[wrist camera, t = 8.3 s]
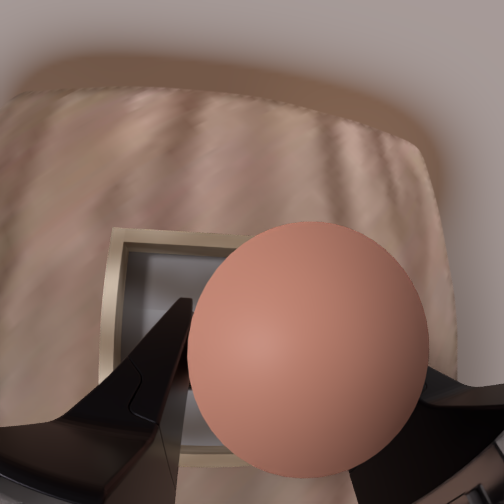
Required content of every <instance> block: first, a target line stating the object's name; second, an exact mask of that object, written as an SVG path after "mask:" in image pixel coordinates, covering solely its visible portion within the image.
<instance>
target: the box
mask: <svg viewBox="0 0 504 504" xmlns="http://www.w3.org/2000/svg"><path fill="white" fill-rule="evenodd" d="M253 237H255V236H245V235H231V234H215V233H200V232H183V231H166V230H149V229H130V228H112V234H111V240H110V246H109V252H108V259H107V266H106V273H105V281H104V290H103V300H102V311H101V325H100V343H99V384H100V383H101V382H102V381H103V380H104V379H105V378H106V377H108V376H109V375H110V374H111V373H112V372H113V370H114V369H115V368H116V367H117V366H118V365H119V364H120V363H121V362H122V361H123V360H124V358H125V357H127V355H128V354H129V353H130V352H131V351H132V350H133V348H134V347H135V346H136V345H137V344H138V343H139V342H140V341H141V339H142V338H143V337H144V336H145V335H146V334H147V333H148V332H149V331H150V329H151V328H152V327H153V326H154V325H155V324H156V323H157V322H158V321H159V319H160V318H161V317H162V316H163V315H164V314H165V313H166V312H167V311H168V310H169V308H170V307H171V306H172V305H173V304H174V303H175V302H176V301H177V300H178V299H179V298H180V297H184V298H192V299H193V314H194V311H195V308H196V305H197V303H198V300H199V298H200V296H201V294H202V292H203V290H204V288H205V286H206V284H207V282H208V281H209V279H210V278H211V277H212V275H213V274H214V272H215V271H216V269H217V268H218V267H219V266H220V265H221V264H222V263H223V261H224V260H225V259H226V258H227V257H228V256H229V255H230V254H231V253H232V252H234V251H235V250H236V249H237V248H238V247H240V246H241V245H242V244H243V243H245V242H247V241H248V240H250V239H251V238H253ZM241 466H252V465H250V464H249V463H247V462H245V461H244V460H242V459H241V458H239V457H237V456H236V455H235V454H234V453H233V452H231V451H230V450H229V449H228V448H227V447H226V446H224V445H223V444H222V442H221V441H220V440H219V439H218V438H217V437H216V435H215V434H214V433H213V432H212V431H211V429H210V427H209V426H208V424H207V423H206V421H205V419H204V418H203V416H202V414H201V412H200V410H199V407H198V405H197V402H196V400H195V398H194V394H193V390H192V387H188V394H187V401H186V409H185V416H184V424H183V432H182V440H181V448H180V457H179V466H178V467H241Z"/></svg>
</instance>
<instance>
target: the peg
mask: <svg viewBox="0 0 504 504" xmlns="http://www.w3.org/2000/svg"><path fill="white" fill-rule="evenodd" d="M187 359H188V370H189V378H190V382H191V386H192V390H193V394H194V398H195V400H196V402H197V405H198V407H199V410H200V412H201V414H202V416H203V418H204V419H205V421H206V423H207V424H208V426H209V427H210V429H211V431H212V432H213V433H214V434H215V435H216V437H217V438H218V439H219V440H220V441H221V442H222V444H223V445H224V446H226V447H227V448H228V449H229V450H230V451H231V452H233V453H234V454H235V455H236V456H237V457H239V458H241V459H242V460H244V461H245V462H247V463H249V464H250V465H252V466H254V467H256V468H259V469H261V470H264V471H266V472H268V473H272V474H276V475H280V476H284V477H293V478H318V477H324V476H329V475H334V474H337V473H340V472H343V471H346V470H349V469H351V468H353V467H355V466H357V465H359V464H361V463H363V462H365V461H367V460H368V459H370V458H371V457H373V456H374V455H376V454H377V453H378V452H379V451H381V450H382V449H383V448H384V447H385V446H386V445H388V444H389V443H390V442H391V441H392V439H393V438H394V437H395V436H396V435H397V434H398V433H399V432H400V430H401V429H402V428H403V426H404V425H405V424H406V422H407V421H408V419H409V417H410V416H411V414H412V412H413V410H414V408H415V407H416V404H417V402H418V400H419V397H420V395H421V392H422V389H423V386H424V382H425V379H426V373H427V368H428V359H429V335H428V328H427V321H426V317H425V313H424V309H423V306H422V303H421V301H420V298H419V295H418V293H417V291H416V289H415V287H414V285H413V283H412V281H411V280H410V278H409V277H408V275H407V274H406V272H405V271H404V269H403V268H402V267H401V266H400V264H399V263H398V262H397V261H396V260H395V258H394V257H392V256H391V255H390V254H389V253H388V252H387V251H386V250H385V249H384V248H383V247H381V246H380V245H379V244H377V243H376V242H375V241H373V240H372V239H370V238H368V237H366V236H365V235H363V234H361V233H359V232H356V231H354V230H352V229H349V228H347V227H343V226H339V225H336V224H331V223H324V222H298V223H291V224H286V225H282V226H279V227H275V228H272V229H270V230H267V231H265V232H263V233H260V234H258V235H256V236H255V237H253V238H251V239H250V240H248V241H247V242H245V243H243V244H242V245H241V246H240V247H238V248H237V249H236V250H235V251H234V252H232V253H231V254H230V255H229V256H228V257H227V258H226V259H225V260H224V261H223V263H222V264H221V265H220V266H219V267H218V268H217V269H216V271H215V272H214V274H213V275H212V277H211V278H210V279H209V281H208V282H207V284H206V286H205V288H204V290H203V292H202V294H201V296H200V298H199V300H198V303H197V305H196V308H195V311H194V314H193V317H192V321H191V326H190V332H189V337H188V355H187Z"/></svg>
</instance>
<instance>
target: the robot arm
mask: <svg viewBox="0 0 504 504" xmlns="http://www.w3.org/2000/svg"><path fill="white" fill-rule="evenodd" d="M192 316H193V299H192V298H184V297H180V298H179V299H178V300H177V301H176V302H175V303H174V304H173V305H172V306H171V307H170V308H169V310H168V311H167V312H166V313H165V314H164V315H163V316H162V317H161V318H160V319H159V321H158V322H157V323H156V324H155V325H154V326H153V327H152V328H151V329H150V331H149V332H148V333H147V334H146V335H145V336H144V337H143V338H142V339H141V341H140V342H139V343H138V344H137V345H136V346H135V347H134V348H133V350H132V351H131V352H130V353H129V354H128V355H127V357H125V358H124V360H123V361H122V362H121V363H120V364H119V365H118V366H117V367H116V368H115V369H114V370H113V372H112V373H111V374H110V375H109V376H108V377H106V378H105V379H104V380H103V381H102V382H101V383H100V384H99V385H98V386H97V387H96V388H94V389H93V390H92V391H91V392H90V393H89V394H87V395H86V396H85V397H84V398H83V399H82V400H81V401H79V402H78V403H77V404H76V405H75V406H74V407H72V408H71V409H70V410H69V411H68V412H66V413H65V414H64V415H62V416H61V417H59V418H57V419H55V420H53V421H49V422H45V423H37V424H29V425H20V426H9V427H0V504H175V496H176V485H177V475H178V466H179V457H180V448H181V440H182V432H183V424H184V416H185V409H186V401H187V394H188V387H189V380H190V378H189V370H188V359H187V355H188V337H189V332H190V326H191V321H192ZM348 471H349V473H350V478H351V481H352V484H353V488H354V491H355V494H356V497H357V501H358V504H504V384H498V385H491V386H484V387H471V386H467V385H464V384H462V383H460V382H458V381H456V380H454V379H452V378H450V377H448V376H446V375H444V374H442V373H440V372H438V371H437V370H435V369H433V368H431V367H429V366H428V368H427V373H426V379H425V382H424V386H423V389H422V392H421V395H420V397H419V400H418V402H417V404H416V407H415V408H414V410H413V412H412V414H411V416H410V417H409V419H408V421H407V422H406V424H405V425H404V426H403V428H402V429H401V430H400V432H399V433H398V434H397V435H396V436H395V437H394V438H393V439H392V441H391V442H390V443H389V444H388V445H386V446H385V447H384V448H383V449H382V450H381V451H379V452H378V453H377V454H376V455H374V456H373V457H371V458H370V459H368V460H367V461H365V462H363V463H361V464H359V465H357V466H355V467H353V468H351V469H349V470H348Z"/></svg>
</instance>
